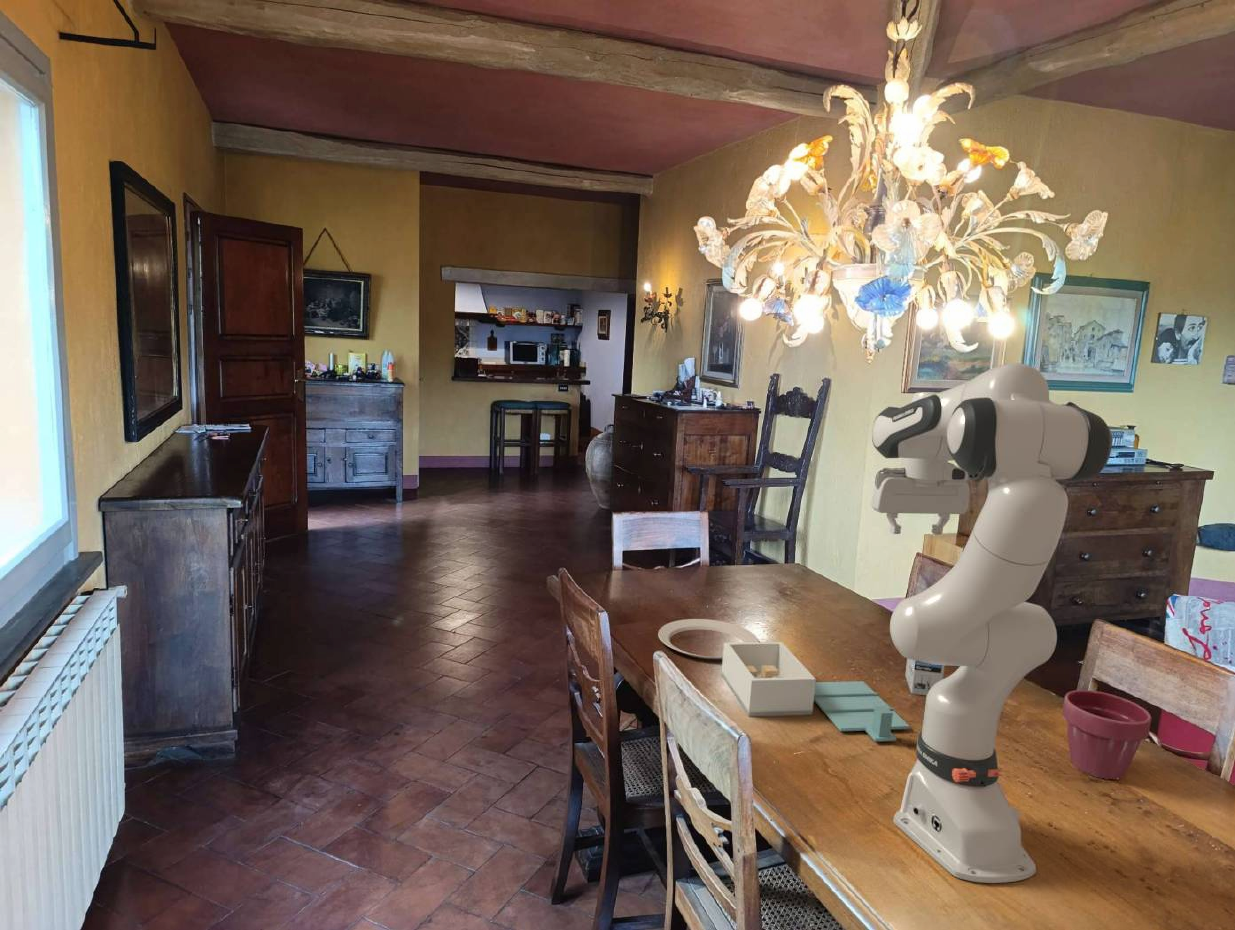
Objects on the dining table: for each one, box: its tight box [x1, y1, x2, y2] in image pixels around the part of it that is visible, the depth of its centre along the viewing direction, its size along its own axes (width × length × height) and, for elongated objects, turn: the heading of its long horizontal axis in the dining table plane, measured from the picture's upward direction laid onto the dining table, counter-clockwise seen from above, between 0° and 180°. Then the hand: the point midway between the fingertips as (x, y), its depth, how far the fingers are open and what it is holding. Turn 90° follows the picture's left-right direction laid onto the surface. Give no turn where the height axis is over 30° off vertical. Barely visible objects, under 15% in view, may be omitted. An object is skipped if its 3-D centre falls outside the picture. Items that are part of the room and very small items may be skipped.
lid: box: [814, 680, 911, 742], centre depth 173 cm, size 25×15×7 cm, turn 9°
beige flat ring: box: [657, 618, 759, 660], centre depth 207 cm, size 26×26×2 cm
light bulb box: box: [904, 658, 946, 697], centre depth 188 cm, size 11×7×11 cm, turn 168°
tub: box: [720, 641, 817, 717], centre depth 180 cm, size 20×14×8 cm
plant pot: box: [1062, 689, 1152, 780], centre depth 155 cm, size 14×14×13 cm
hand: (916, 533), depth 170 cm, fingers open, 8 cm apart
